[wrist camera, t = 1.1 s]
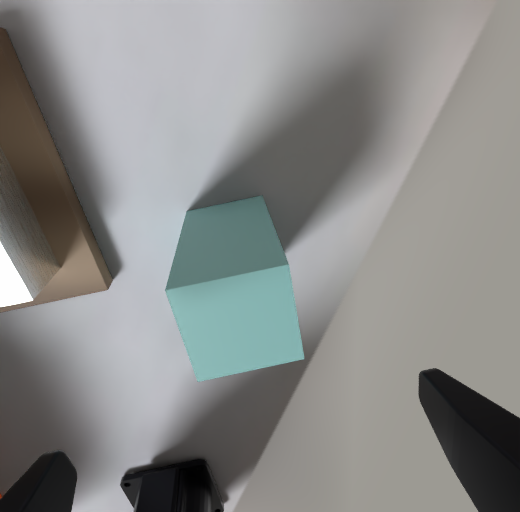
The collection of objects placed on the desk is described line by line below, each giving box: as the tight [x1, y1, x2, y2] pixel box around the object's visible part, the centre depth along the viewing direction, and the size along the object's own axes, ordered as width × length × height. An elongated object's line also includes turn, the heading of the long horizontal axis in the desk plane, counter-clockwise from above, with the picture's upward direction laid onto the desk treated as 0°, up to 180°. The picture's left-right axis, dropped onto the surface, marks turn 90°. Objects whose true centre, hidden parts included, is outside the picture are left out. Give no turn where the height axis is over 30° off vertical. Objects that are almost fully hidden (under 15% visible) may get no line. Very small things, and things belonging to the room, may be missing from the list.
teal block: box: [165, 196, 304, 382], centre depth 16 cm, size 4×4×8 cm
